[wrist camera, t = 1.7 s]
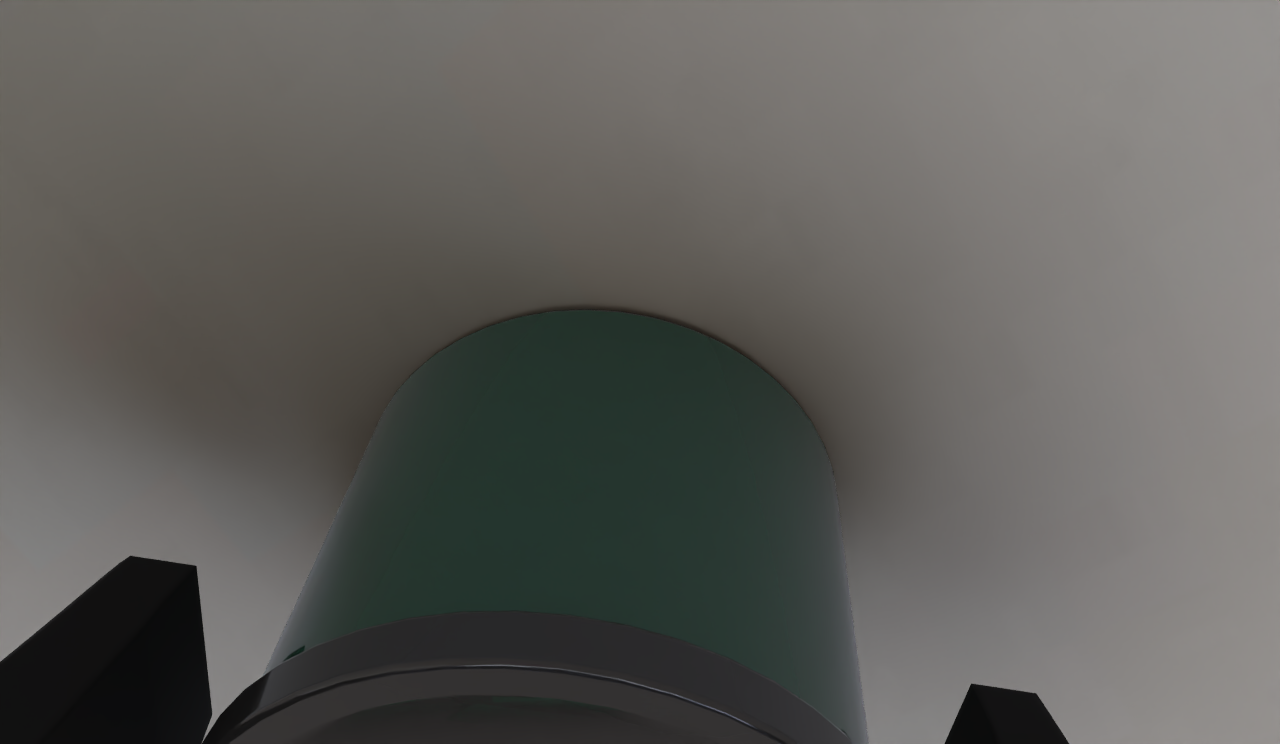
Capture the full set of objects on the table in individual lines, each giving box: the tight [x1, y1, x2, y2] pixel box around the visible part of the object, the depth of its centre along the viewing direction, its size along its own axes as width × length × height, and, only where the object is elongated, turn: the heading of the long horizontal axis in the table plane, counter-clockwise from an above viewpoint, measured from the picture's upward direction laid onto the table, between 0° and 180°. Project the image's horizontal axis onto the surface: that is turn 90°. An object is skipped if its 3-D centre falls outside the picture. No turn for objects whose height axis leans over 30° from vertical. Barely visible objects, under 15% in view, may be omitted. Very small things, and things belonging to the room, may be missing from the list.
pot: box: [202, 309, 869, 744], centre depth 11 cm, size 6×6×5 cm
